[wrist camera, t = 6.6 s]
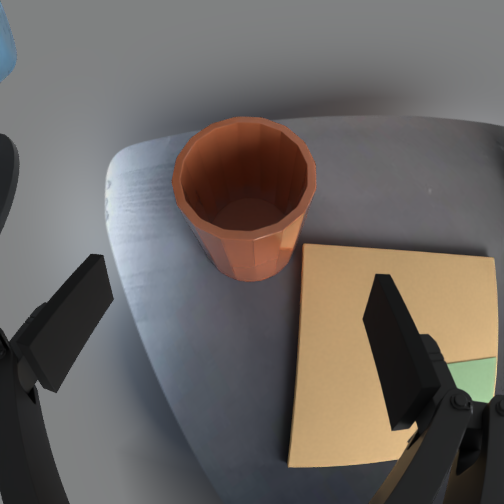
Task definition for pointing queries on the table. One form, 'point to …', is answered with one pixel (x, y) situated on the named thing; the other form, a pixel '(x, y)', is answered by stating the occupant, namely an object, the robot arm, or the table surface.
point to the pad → (475, 378)
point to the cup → (245, 194)
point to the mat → (358, 347)
